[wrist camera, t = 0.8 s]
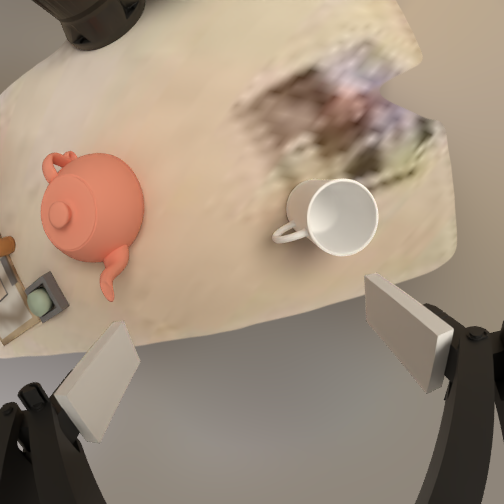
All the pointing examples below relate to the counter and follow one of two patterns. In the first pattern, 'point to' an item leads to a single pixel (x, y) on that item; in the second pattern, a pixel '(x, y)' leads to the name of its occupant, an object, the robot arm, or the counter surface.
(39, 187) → the counter surface
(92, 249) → the teapot
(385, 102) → the counter surface
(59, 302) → the button base
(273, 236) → the mug
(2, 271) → the clipboard
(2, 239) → the orange marker
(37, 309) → the button
